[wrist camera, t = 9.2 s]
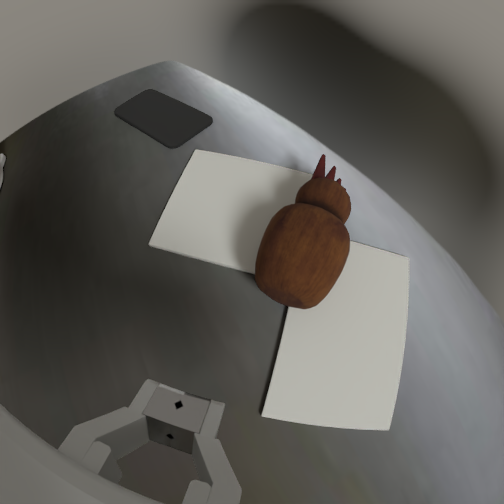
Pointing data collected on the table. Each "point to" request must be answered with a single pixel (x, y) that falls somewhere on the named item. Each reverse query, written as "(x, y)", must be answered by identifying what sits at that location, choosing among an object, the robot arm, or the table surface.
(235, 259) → the mat side
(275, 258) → the wooden figurine
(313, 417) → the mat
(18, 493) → the robot arm
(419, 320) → the table surface
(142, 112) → the phone
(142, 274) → the table surface
